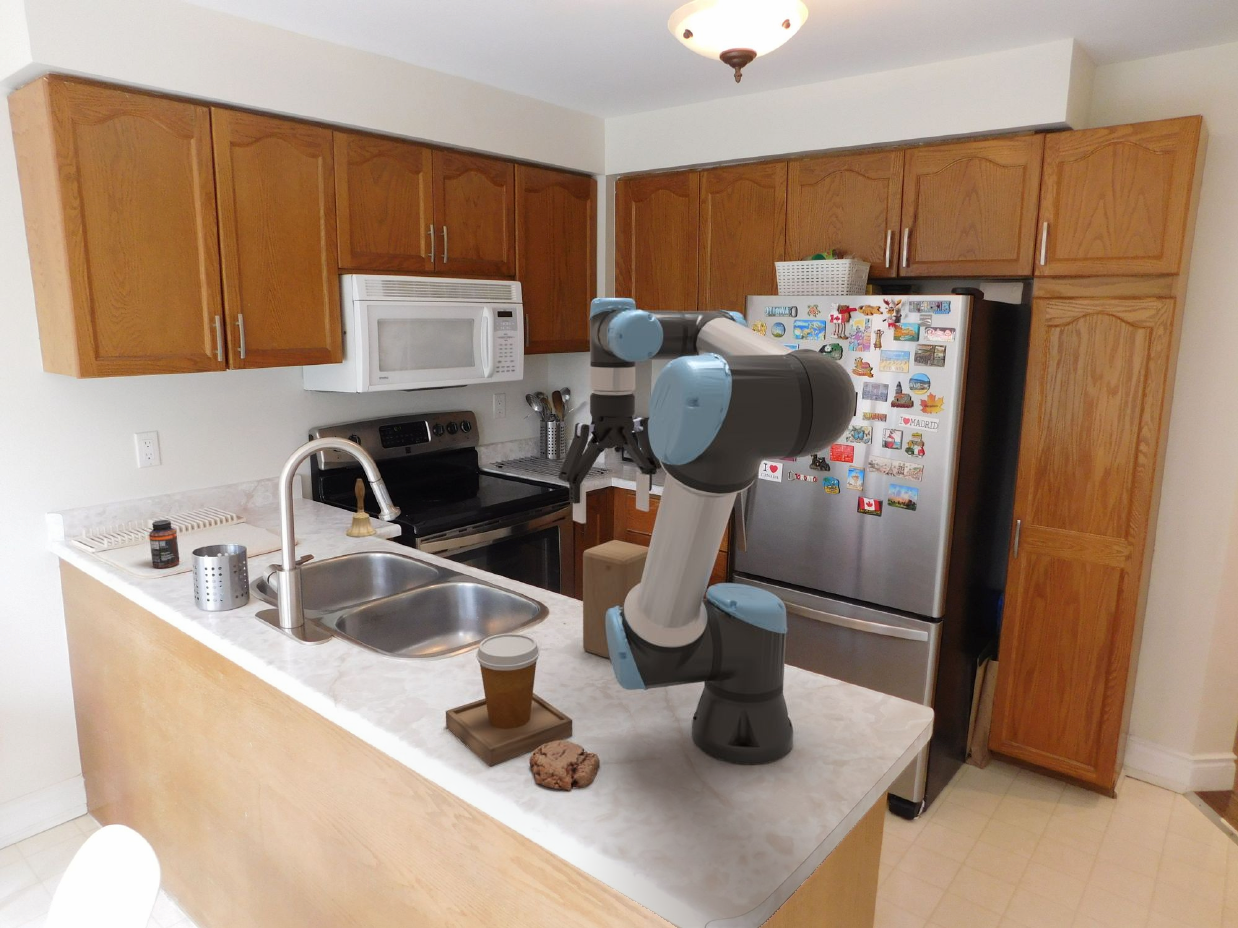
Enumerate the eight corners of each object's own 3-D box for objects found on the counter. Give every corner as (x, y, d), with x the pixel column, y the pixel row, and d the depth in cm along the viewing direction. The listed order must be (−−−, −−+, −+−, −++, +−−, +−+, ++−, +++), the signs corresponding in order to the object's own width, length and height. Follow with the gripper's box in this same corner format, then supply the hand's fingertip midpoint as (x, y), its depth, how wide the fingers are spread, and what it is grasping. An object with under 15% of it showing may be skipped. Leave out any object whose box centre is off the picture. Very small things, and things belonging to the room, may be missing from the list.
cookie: (561, 744, 121) (561, 725, 120) (614, 770, 114) (614, 751, 114) (510, 772, 114) (510, 752, 113) (564, 802, 107) (564, 781, 106)
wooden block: (623, 665, 148) (624, 559, 144) (580, 651, 153) (580, 549, 150) (654, 647, 155) (656, 547, 152) (613, 634, 161) (613, 537, 158)
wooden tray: (572, 735, 123) (572, 719, 123) (490, 766, 115) (490, 749, 114) (524, 700, 134) (523, 685, 133) (446, 726, 125) (445, 710, 125)
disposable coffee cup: (477, 736, 119) (475, 659, 116) (478, 705, 128) (476, 633, 126) (542, 731, 120) (541, 655, 118) (538, 701, 129) (537, 630, 127)
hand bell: (382, 530, 236) (379, 476, 233) (367, 538, 228) (364, 482, 225) (356, 528, 238) (353, 475, 235) (340, 536, 230) (337, 481, 227)
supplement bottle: (172, 560, 207) (168, 517, 205) (184, 564, 203) (180, 520, 201) (148, 566, 202) (143, 522, 200) (159, 570, 198) (155, 525, 196)
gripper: (655, 386, 146) (653, 501, 150) (536, 394, 131) (538, 522, 135) (683, 389, 140) (680, 509, 144) (562, 398, 125) (563, 531, 129)
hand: (611, 515), depth 139 cm, fingers open, 13 cm apart
